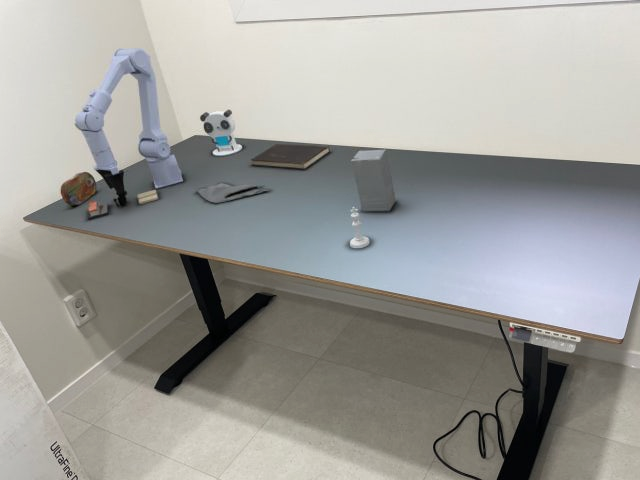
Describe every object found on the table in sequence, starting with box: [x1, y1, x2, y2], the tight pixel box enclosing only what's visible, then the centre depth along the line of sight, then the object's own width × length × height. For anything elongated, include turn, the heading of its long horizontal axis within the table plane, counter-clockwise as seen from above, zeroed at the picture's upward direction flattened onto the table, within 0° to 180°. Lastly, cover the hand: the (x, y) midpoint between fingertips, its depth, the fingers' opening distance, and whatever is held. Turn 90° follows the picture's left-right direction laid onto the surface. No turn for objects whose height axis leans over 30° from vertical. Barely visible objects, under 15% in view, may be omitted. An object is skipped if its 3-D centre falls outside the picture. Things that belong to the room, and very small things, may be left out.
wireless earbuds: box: [112, 190, 128, 207], centre depth 185 cm, size 7×2×5 cm, turn 167°
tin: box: [60, 171, 97, 206], centre depth 194 cm, size 15×3×8 cm, turn 168°
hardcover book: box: [250, 143, 331, 171], centre depth 200 cm, size 16×23×2 cm
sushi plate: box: [87, 200, 109, 221], centre depth 183 cm, size 6×8×3 cm
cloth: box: [195, 182, 270, 204], centre depth 181 cm, size 26×14×2 cm, turn 60°
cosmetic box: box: [350, 149, 397, 212], centre depth 153 cm, size 8×7×16 cm
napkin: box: [137, 189, 159, 205], centre depth 188 cm, size 6×6×1 cm
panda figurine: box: [199, 109, 243, 157], centre depth 216 cm, size 12×11×15 cm
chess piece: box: [349, 206, 370, 249], centre depth 139 cm, size 5×5×10 cm
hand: (117, 190), depth 183 cm, fingers open, 7 cm apart
